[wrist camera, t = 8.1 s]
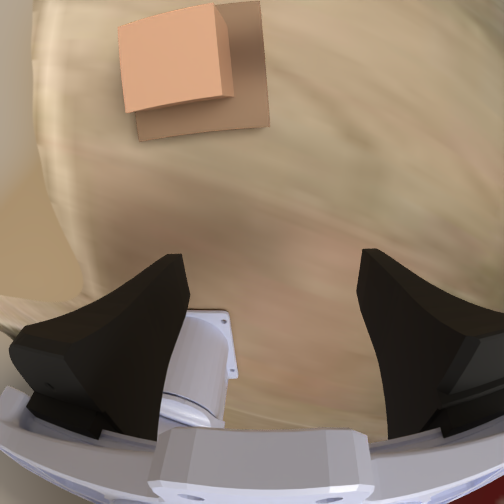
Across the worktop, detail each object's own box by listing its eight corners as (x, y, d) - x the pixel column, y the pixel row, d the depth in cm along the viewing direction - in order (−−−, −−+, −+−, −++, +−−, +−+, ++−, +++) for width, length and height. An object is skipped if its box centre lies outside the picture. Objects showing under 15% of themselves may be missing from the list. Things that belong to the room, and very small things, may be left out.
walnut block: (269, 123, 18) (269, 126, 16) (156, 135, 19) (139, 141, 16) (261, 14, 14) (259, 0, 12) (146, 33, 15) (127, 25, 12)
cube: (234, 96, 15) (222, 95, 11) (159, 108, 15) (125, 113, 11) (227, 25, 13) (213, 2, 9) (152, 40, 13) (117, 27, 9)
